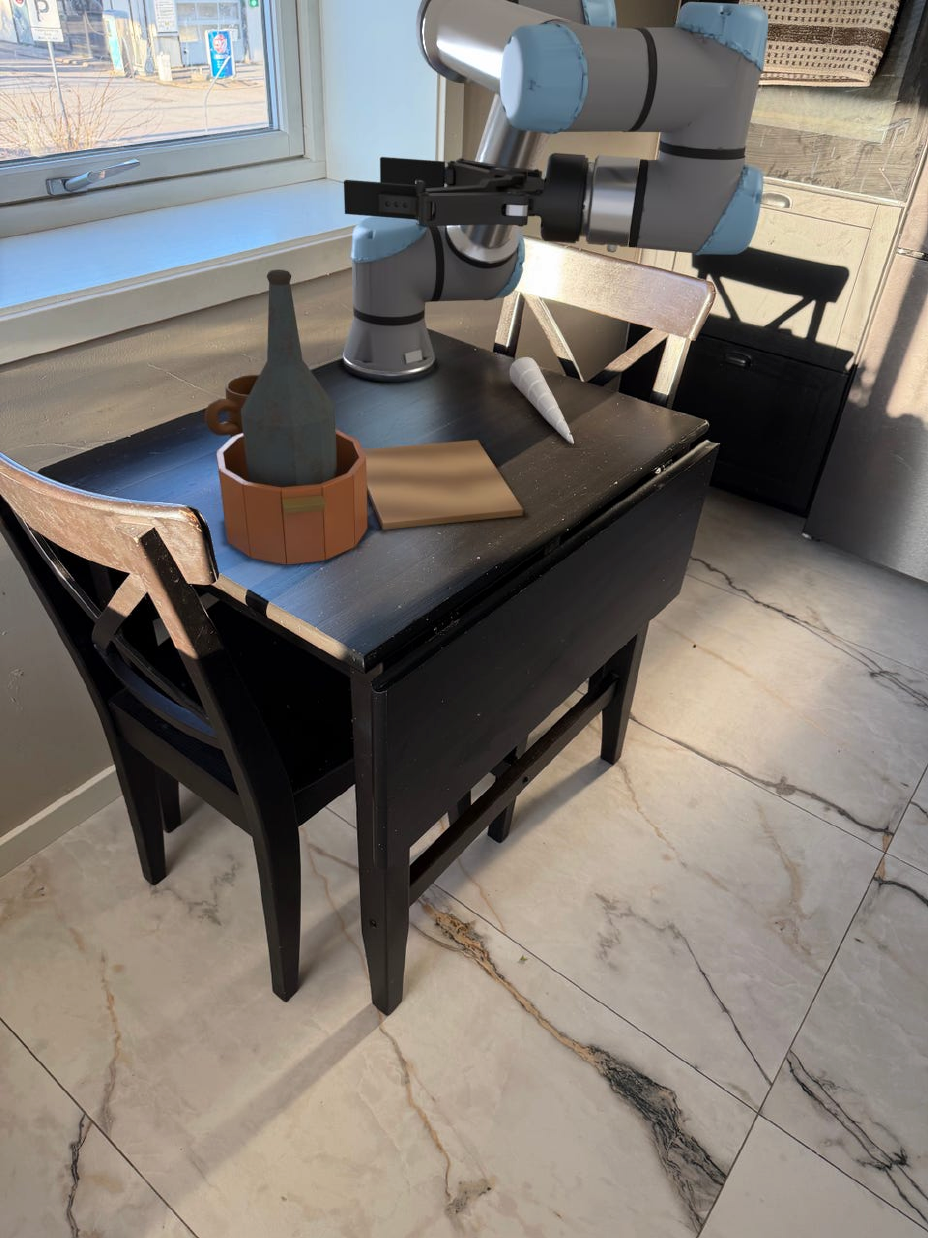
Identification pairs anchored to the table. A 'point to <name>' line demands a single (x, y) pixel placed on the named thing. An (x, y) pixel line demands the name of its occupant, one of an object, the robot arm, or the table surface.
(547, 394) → the unicorn horn
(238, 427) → the mug
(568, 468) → the table surface
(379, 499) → the wooden board
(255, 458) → the bottle
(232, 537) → the ice bucket
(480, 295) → the robot arm
